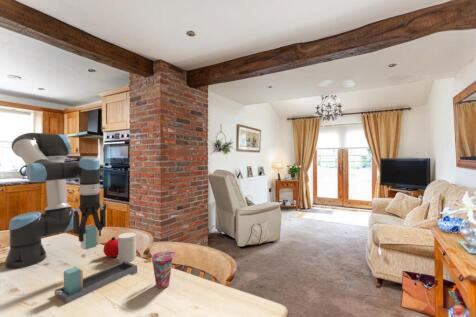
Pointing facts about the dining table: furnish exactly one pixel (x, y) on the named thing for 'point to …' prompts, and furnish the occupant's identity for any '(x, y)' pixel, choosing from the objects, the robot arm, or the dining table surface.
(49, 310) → the dining table surface
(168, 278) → the cup
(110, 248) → the ornament
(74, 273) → the block
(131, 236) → the cup
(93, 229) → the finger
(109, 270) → the rail
